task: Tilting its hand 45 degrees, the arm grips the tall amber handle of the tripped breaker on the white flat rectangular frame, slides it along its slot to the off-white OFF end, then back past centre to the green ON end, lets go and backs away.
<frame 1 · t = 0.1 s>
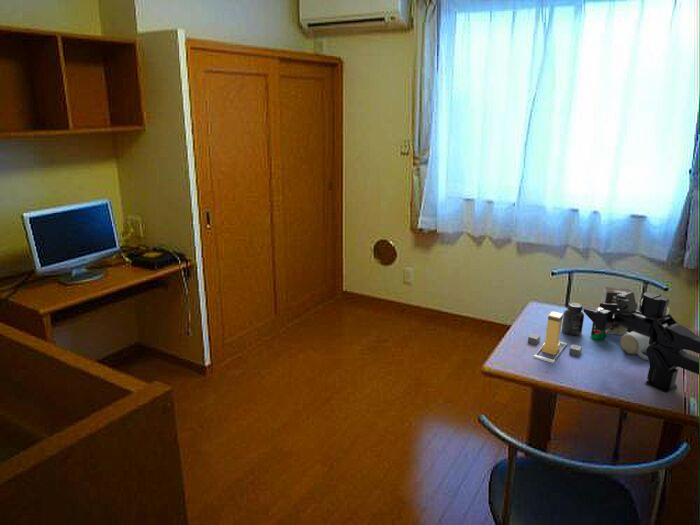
hand: (592, 307, 177), 17 cm above the table, tool horizontal, fingers open, 9 cm apart
supplement bottle: (570, 335, 194), on the table
soda can: (597, 341, 190), on the table
ceramic mug: (638, 354, 182), on the table
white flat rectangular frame: (550, 354, 180), on the table
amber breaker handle: (553, 332, 178), point 8 cm above the table, slide at 0.0 cm
coffee box: (611, 331, 198), on the table
character mug: (649, 331, 199), on the table
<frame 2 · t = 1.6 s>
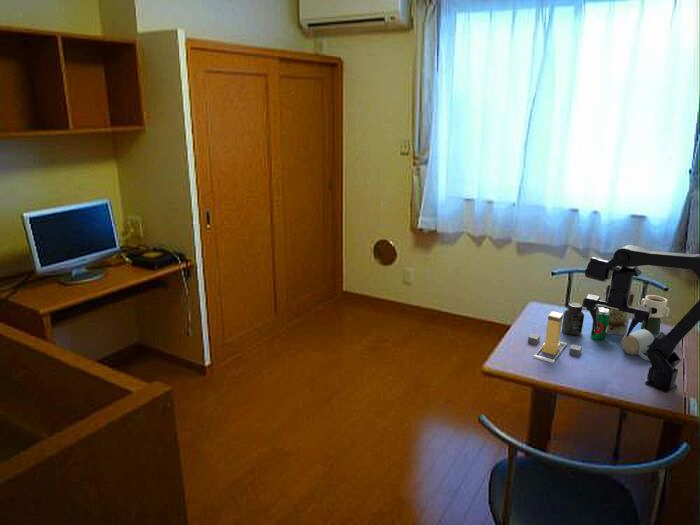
hand: (611, 332, 169), 12 cm above the table, tool pointing down, fingers open, 9 cm apart
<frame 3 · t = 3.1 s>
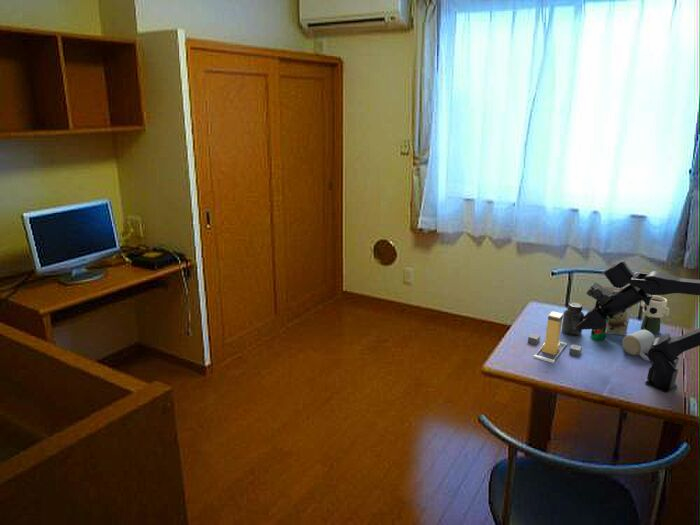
hand: (580, 323, 172), 13 cm above the table, tool tilted 45°, fingers open, 9 cm apart
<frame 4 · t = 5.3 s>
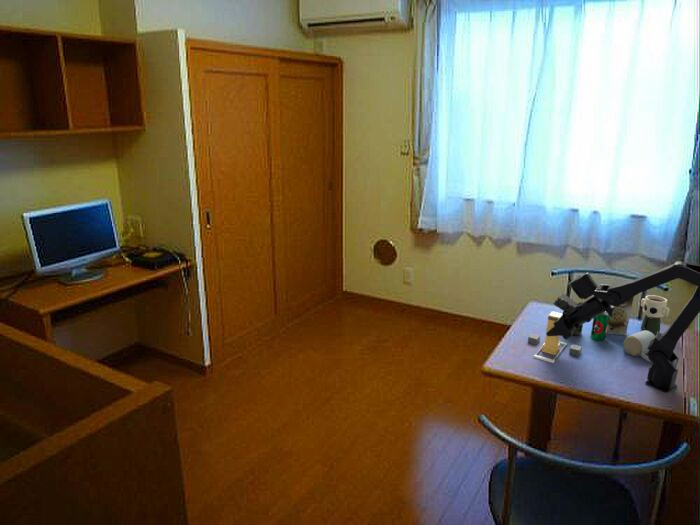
hand: (548, 332, 179), 8 cm above the table, tool tilted 45°, fingers closed on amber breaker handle, 4 cm apart
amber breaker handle: (553, 332, 178), point 8 cm above the table, slide at 0.0 cm, touching gripper
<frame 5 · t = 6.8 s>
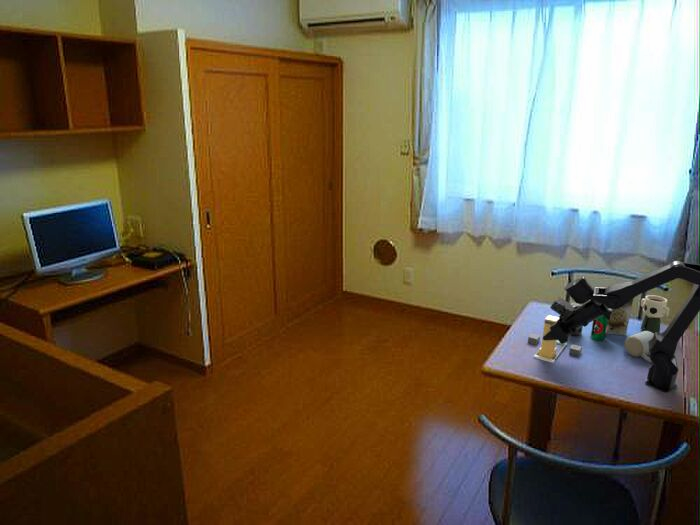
hand: (545, 336, 176), 8 cm above the table, tool tilted 45°, fingers closed on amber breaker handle, 4 cm apart
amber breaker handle: (549, 336, 175), point 8 cm above the table, slide at 3.8 cm, touching gripper
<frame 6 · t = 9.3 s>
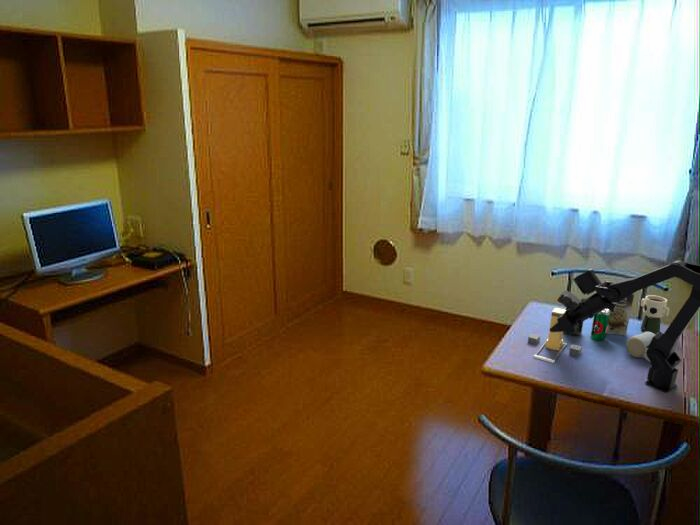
hand: (552, 328, 182), 8 cm above the table, tool tilted 45°, fingers closed on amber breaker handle, 4 cm apart
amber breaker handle: (556, 328, 181), point 8 cm above the table, slide at -3.9 cm, touching gripper
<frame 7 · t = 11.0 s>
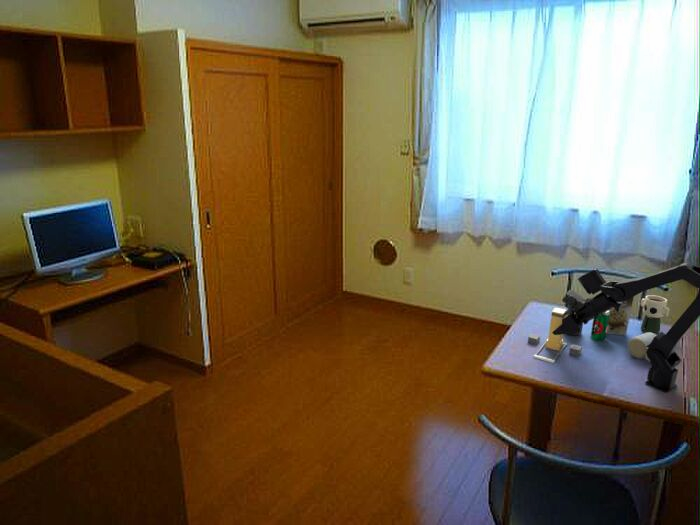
hand: (557, 328, 181), 8 cm above the table, tool tilted 45°, fingers open, 9 cm apart
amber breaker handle: (556, 328, 181), point 8 cm above the table, slide at -3.9 cm
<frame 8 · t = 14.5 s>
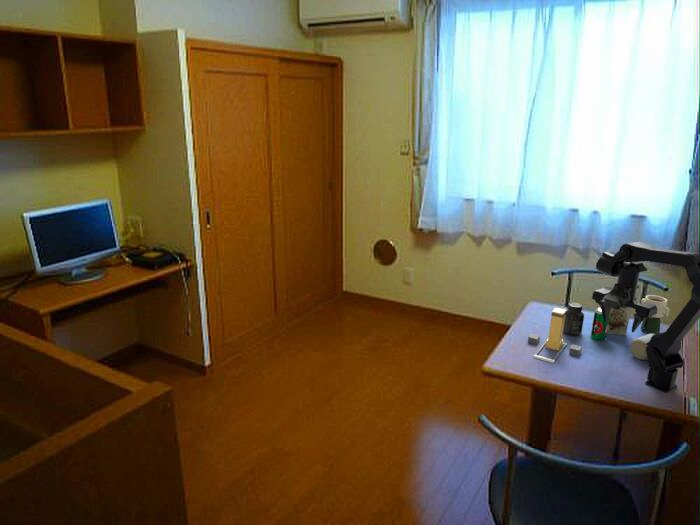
hand: (619, 326, 173), 12 cm above the table, tool pointing down, fingers open, 9 cm apart
at the end: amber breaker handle slide at -3.9 cm; the gripper is holding nothing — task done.
